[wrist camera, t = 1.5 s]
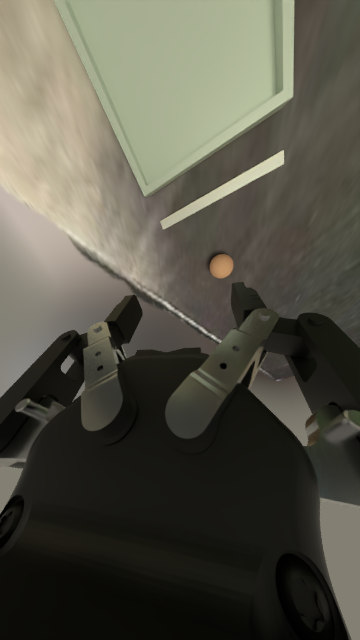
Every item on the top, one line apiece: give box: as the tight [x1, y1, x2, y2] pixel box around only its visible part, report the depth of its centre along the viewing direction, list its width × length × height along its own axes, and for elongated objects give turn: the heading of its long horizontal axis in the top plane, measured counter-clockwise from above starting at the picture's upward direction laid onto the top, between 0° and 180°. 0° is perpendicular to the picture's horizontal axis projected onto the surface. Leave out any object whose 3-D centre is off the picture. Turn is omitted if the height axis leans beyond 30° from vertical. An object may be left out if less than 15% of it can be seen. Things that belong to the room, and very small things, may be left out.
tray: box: [54, 0, 294, 197], centre depth 16 cm, size 22×22×3 cm
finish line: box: [160, 150, 284, 230], centre depth 26 cm, size 22×2×1 cm, turn 115°
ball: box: [210, 254, 233, 278], centre depth 32 cm, size 5×5×5 cm
